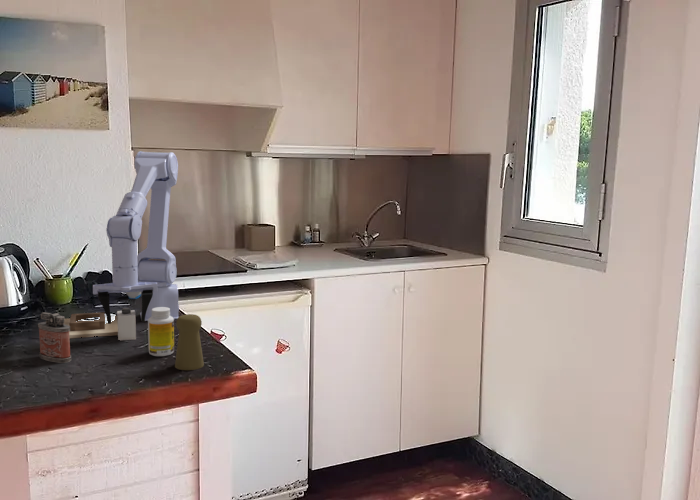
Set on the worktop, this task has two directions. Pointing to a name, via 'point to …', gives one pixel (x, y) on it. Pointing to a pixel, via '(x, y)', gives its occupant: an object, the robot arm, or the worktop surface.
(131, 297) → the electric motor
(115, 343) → the worktop surface
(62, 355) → the lighter
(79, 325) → the socket dock
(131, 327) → the plug
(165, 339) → the supplement bottle
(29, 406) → the worktop surface
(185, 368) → the olive pepper mill
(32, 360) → the worktop surface
